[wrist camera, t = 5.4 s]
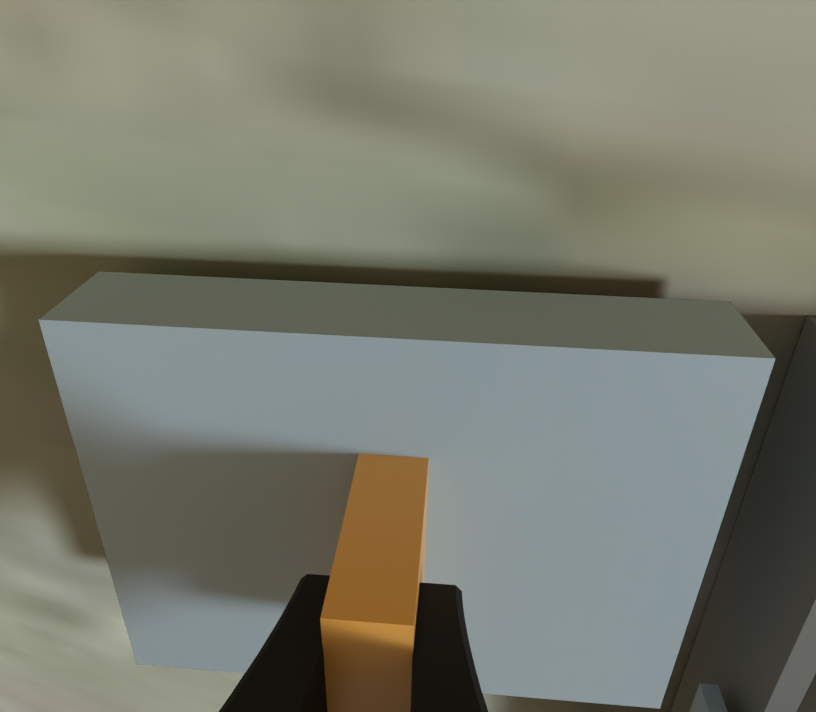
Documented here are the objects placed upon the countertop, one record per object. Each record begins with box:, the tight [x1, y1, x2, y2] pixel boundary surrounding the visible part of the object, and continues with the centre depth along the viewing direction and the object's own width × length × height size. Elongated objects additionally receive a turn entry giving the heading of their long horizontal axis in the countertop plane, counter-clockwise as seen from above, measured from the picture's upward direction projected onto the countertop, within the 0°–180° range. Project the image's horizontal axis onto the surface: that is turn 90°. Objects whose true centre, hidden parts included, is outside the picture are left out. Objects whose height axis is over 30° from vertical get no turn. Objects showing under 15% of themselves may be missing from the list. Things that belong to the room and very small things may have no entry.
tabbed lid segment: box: [39, 271, 776, 712], centre depth 12 cm, size 9×11×5 cm
